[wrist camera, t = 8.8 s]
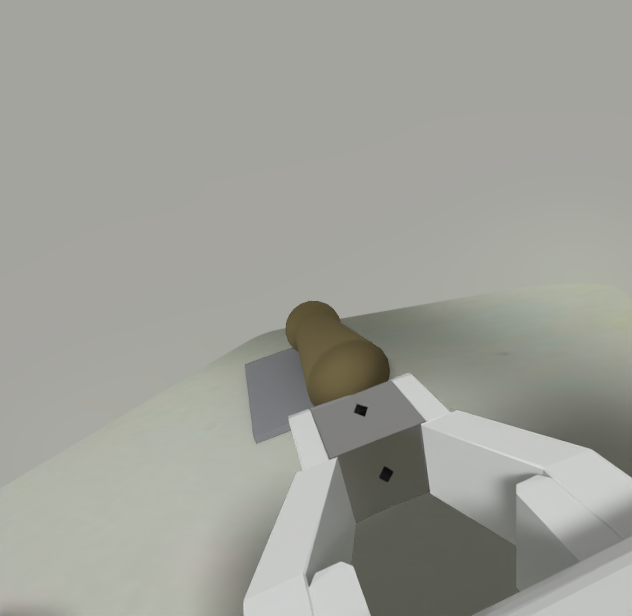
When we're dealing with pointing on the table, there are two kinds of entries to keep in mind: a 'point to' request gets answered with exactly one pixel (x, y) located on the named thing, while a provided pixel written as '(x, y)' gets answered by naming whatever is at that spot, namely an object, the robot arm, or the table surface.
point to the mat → (275, 393)
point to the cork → (333, 354)
